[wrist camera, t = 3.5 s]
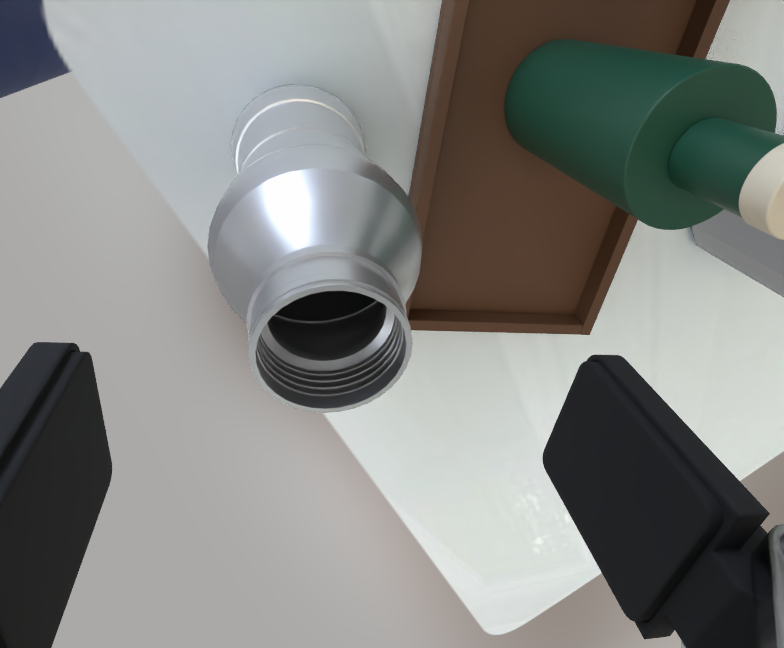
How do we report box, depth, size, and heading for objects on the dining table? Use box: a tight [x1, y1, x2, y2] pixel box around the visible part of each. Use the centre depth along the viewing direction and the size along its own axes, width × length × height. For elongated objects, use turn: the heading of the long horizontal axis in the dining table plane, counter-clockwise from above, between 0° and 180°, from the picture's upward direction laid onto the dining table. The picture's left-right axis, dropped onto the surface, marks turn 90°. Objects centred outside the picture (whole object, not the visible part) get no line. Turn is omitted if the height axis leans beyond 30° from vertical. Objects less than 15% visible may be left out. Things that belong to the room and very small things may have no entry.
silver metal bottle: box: [208, 84, 422, 413], centre depth 20 cm, size 6×7×20 cm
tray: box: [405, 0, 730, 335], centre depth 28 cm, size 15×30×2 cm, turn 172°
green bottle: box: [504, 39, 784, 240], centre depth 22 cm, size 6×6×17 cm
